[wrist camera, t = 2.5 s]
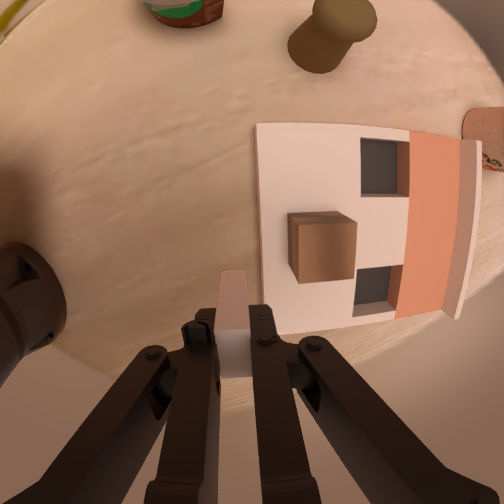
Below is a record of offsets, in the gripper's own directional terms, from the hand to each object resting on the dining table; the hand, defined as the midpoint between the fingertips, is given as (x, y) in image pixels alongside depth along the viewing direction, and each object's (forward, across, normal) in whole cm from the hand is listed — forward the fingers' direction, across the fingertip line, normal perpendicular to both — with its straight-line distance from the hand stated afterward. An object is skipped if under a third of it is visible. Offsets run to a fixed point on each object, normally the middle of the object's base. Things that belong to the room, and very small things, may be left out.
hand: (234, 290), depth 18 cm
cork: (+14, +10, +20) cm, 26 cm away
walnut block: (+10, +8, 0) cm, 13 cm away
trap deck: (+13, +14, 0) cm, 20 cm away
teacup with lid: (+14, +36, +12) cm, 40 cm away
